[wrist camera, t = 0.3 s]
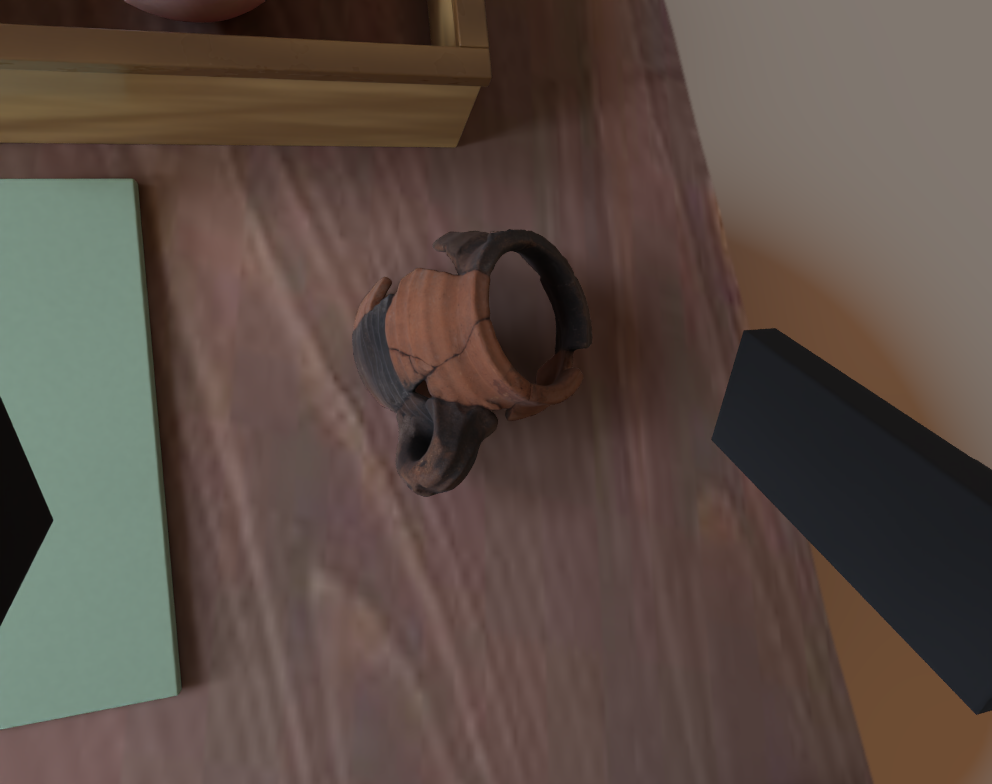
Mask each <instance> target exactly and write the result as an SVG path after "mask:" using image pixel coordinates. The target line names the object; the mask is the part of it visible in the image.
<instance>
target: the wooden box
mask: <svg viewBox="0 0 992 784" xmlns="http://www.w3.org/2000/svg"><path fill="white" fill-rule="evenodd" d="M427 6H428V16H429V27H430V37H431V46H430V45H411V44H391V43H372V42H352V41H333V40H314V39H294V38H275V37H256V36H236V35H217V34H198V33H178V32H159V31H139V30H120V29H101V28H81V27H62V26H43V25H23V24H4V23H0V143H86V144H183V145H280V146H377V147H457V144H458V142H459V140H460V137H461V135H462V132H463V130H464V127H465V125H466V122H467V120H468V117H469V115H470V112H471V110H472V108H473V105H474V103H475V100H476V98H477V95H478V93H479V90H480V88H481V86H482V87H487V86H489V84H490V82H491V79H492V70H491V60H490V50H489V39H488V29H487V18H486V8H485V0H427Z"/></svg>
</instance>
